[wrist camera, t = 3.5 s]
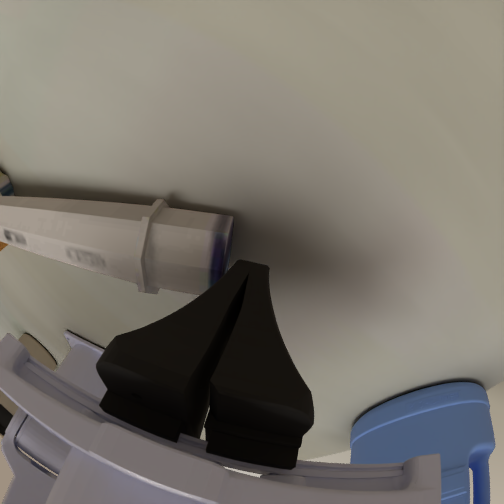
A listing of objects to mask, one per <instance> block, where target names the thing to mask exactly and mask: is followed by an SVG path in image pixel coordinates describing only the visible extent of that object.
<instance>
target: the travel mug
mask: <svg viewBox="0 0 504 504" xmlns="http://www.w3.org/2000/svg"><path fill="white" fill-rule="evenodd" d="M19 341H20V342H21V343H22V344H23V345H24V346H25V347H26V348H27V350H28V351H29V353H30V355H31V356H32V357H34V358H35V359H36V360H38V361H39V362H41V363H42V364H44V365H45V366H46V367H48V368H49V369H51V370H52V371H54V369H55V368H56V363H55V360H54V359H53V357H52V356H51V355H50V353H49V352H48V351H47V350H46V349H45V348H44V347H43V346H42V345H41V344H40V343H39V342H38V341H37V340H36V339H34V338H33V337H31V336H30V335H27V334H23V335H22V336H21V337H20V339H19ZM18 408H19V407H18V406H17V405H16V404H15V403H14V402H13V401H12V400H11V399H9V398H8V397H7V396H6V395H5V394H4V393H3V392H2V391H1V390H0V437H2V438H3V437H4V435H5V431H6V429H7V427H8V425H9V423H10V421H11V419H12V418H13V416H14V414H15V413H16V411H17V409H18Z"/></svg>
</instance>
